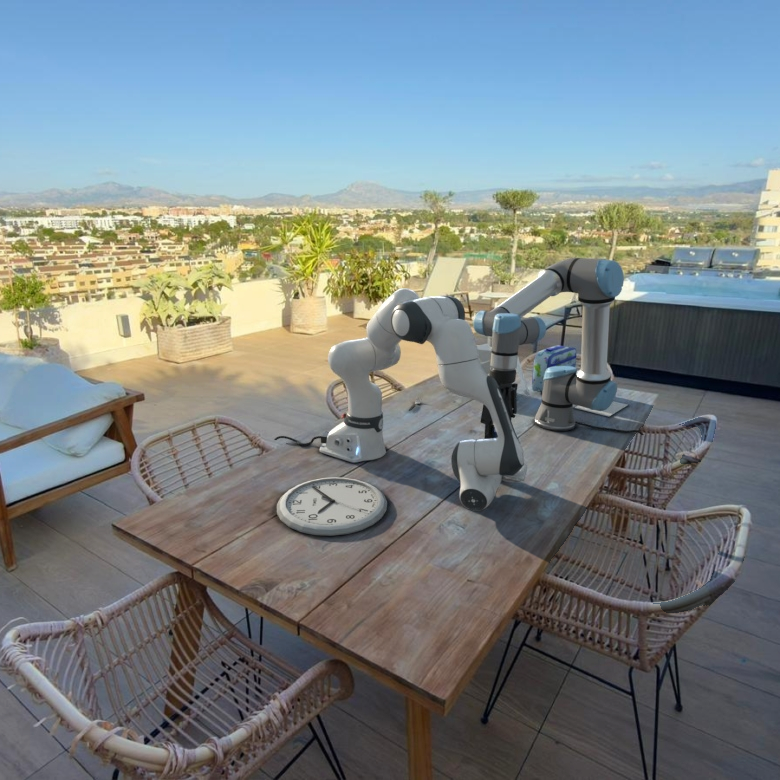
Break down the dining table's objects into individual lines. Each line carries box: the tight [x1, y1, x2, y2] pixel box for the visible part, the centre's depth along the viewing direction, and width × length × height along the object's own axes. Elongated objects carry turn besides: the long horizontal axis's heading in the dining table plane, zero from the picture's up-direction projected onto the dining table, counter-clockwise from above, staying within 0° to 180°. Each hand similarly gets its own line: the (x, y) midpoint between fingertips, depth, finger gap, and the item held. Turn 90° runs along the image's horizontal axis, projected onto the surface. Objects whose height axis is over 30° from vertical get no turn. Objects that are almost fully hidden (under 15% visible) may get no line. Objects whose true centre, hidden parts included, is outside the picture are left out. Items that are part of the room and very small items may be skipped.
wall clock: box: [276, 476, 388, 537], centre depth 142 cm, size 30×2×30 cm
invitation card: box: [573, 400, 629, 418], centre depth 226 cm, size 21×1×15 cm
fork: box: [408, 396, 423, 412], centre depth 222 cm, size 3×16×2 cm, turn 160°
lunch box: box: [531, 345, 577, 393], centre depth 245 cm, size 26×11×21 cm, turn 134°
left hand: (496, 456), depth 160 cm, fingers closed on jar, 5 cm apart
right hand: (497, 440), depth 158 cm, fingers open, 8 cm apart
